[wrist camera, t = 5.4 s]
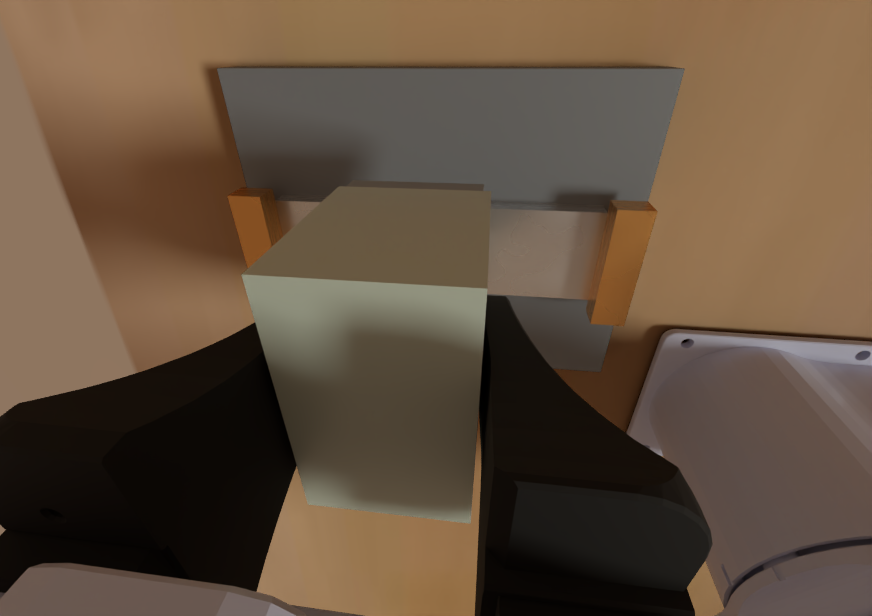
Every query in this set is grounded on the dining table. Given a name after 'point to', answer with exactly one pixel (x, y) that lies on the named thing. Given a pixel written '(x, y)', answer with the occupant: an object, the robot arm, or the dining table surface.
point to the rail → (509, 246)
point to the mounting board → (464, 146)
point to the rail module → (380, 344)
